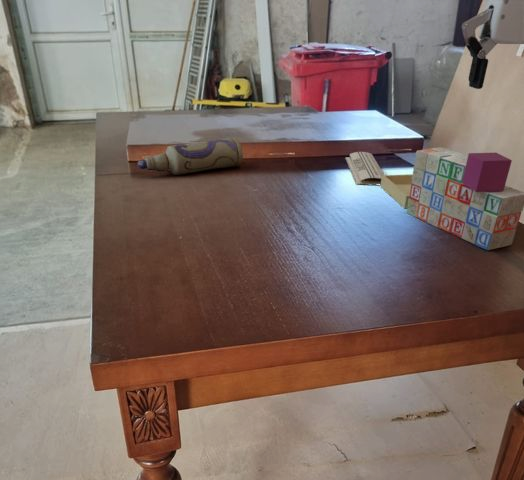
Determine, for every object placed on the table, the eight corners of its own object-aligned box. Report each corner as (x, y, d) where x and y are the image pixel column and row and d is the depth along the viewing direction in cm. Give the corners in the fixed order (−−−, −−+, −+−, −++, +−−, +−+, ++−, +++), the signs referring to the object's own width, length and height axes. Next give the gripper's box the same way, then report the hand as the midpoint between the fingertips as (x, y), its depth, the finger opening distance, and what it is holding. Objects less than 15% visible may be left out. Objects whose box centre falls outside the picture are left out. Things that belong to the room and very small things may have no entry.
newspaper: (386, 185, 120) (387, 177, 119) (355, 184, 120) (356, 176, 119) (371, 158, 140) (372, 151, 139) (345, 158, 140) (345, 151, 139)
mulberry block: (488, 182, 91) (496, 152, 89) (503, 190, 87) (512, 160, 85) (461, 183, 91) (468, 153, 88) (475, 192, 87) (483, 160, 84)
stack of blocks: (512, 245, 92) (534, 174, 85) (487, 251, 90) (507, 179, 83) (429, 208, 108) (441, 145, 101) (405, 212, 105) (416, 149, 98)
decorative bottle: (230, 161, 135) (230, 134, 131) (244, 169, 130) (244, 141, 126) (133, 174, 124) (129, 144, 121) (143, 182, 119) (140, 152, 115)
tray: (426, 185, 121) (428, 173, 120) (455, 206, 109) (458, 194, 108) (379, 186, 119) (381, 175, 118) (404, 208, 108) (406, 195, 106)
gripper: (580, -50, 75) (543, 83, 85) (466, -52, 73) (441, 84, 83) (616, -53, 69) (571, 90, 79) (492, -56, 67) (462, 91, 77)
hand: (504, 87), depth 81 cm, fingers open, 9 cm apart
